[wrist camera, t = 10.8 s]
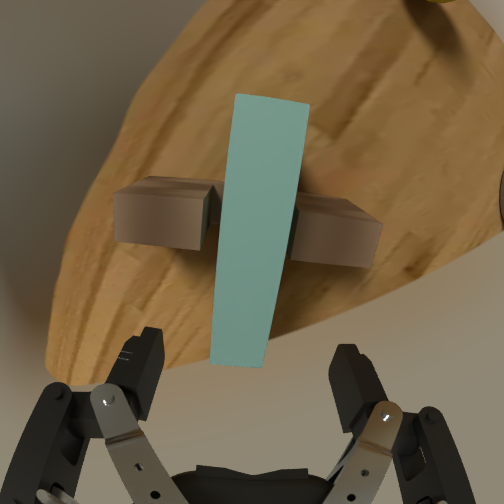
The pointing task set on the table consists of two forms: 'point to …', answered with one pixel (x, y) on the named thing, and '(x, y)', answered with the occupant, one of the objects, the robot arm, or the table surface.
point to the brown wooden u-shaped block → (209, 212)
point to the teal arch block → (255, 224)
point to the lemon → (440, 1)
